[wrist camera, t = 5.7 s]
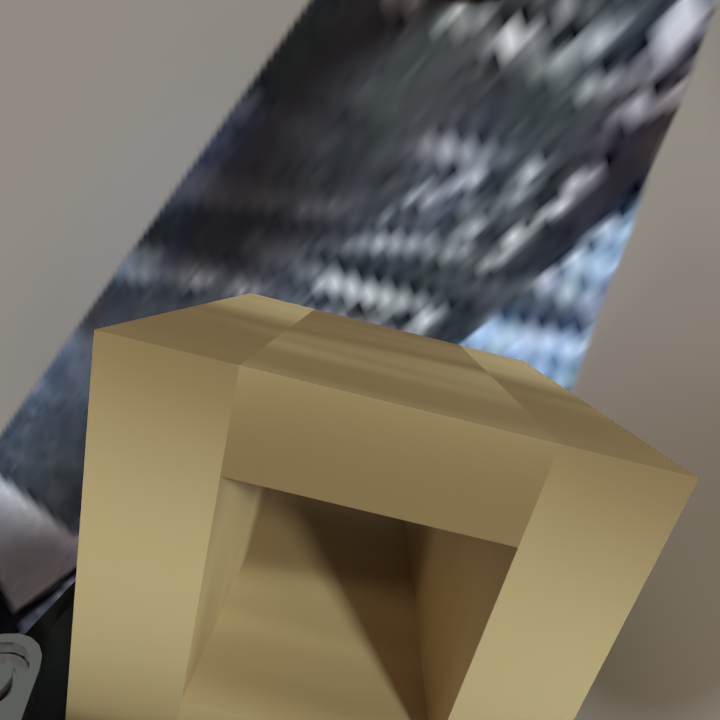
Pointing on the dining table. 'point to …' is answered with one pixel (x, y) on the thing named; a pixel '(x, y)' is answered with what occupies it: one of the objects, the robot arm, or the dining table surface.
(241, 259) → the dining table surface
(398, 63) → the dining table surface
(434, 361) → the tan hollow block
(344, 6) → the dining table surface
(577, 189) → the dining table surface
